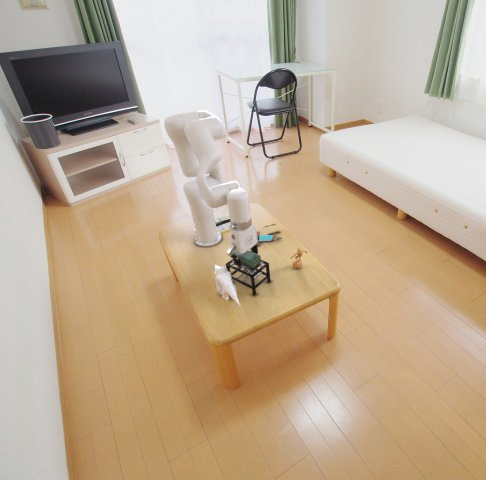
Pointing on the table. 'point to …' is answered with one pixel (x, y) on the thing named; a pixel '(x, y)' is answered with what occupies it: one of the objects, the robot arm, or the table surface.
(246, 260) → the teal sanding sponge
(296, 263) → the figurine
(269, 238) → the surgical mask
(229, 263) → the rack
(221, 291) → the dinosaur statue
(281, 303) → the table surface
